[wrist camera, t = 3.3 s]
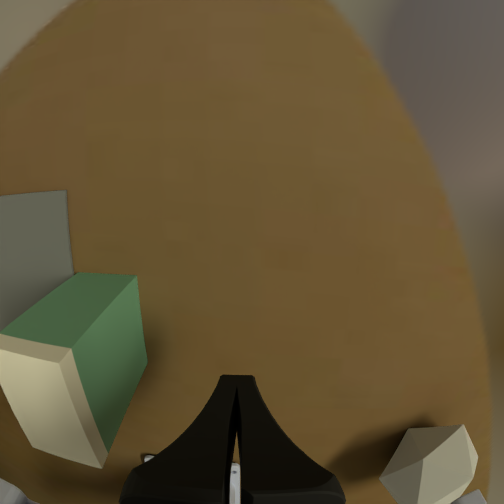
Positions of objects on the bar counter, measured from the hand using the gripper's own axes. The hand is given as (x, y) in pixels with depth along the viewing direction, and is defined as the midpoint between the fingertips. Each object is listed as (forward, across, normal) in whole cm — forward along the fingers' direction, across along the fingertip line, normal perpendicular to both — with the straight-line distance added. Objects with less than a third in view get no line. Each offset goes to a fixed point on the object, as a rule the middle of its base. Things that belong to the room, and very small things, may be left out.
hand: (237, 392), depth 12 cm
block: (+6, +8, 0) cm, 10 cm away
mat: (+6, +16, +1) cm, 17 cm away
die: (+6, -16, +13) cm, 22 cm away
